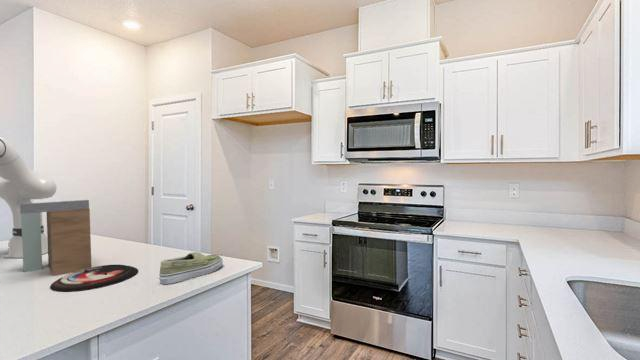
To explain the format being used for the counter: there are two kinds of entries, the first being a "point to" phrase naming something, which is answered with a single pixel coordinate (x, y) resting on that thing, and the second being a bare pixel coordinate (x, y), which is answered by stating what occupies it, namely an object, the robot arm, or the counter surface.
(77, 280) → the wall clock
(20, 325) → the counter surface
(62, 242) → the brown wooden block
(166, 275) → the boat shoe
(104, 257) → the counter surface
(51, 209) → the bar
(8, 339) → the counter surface
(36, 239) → the socket post
